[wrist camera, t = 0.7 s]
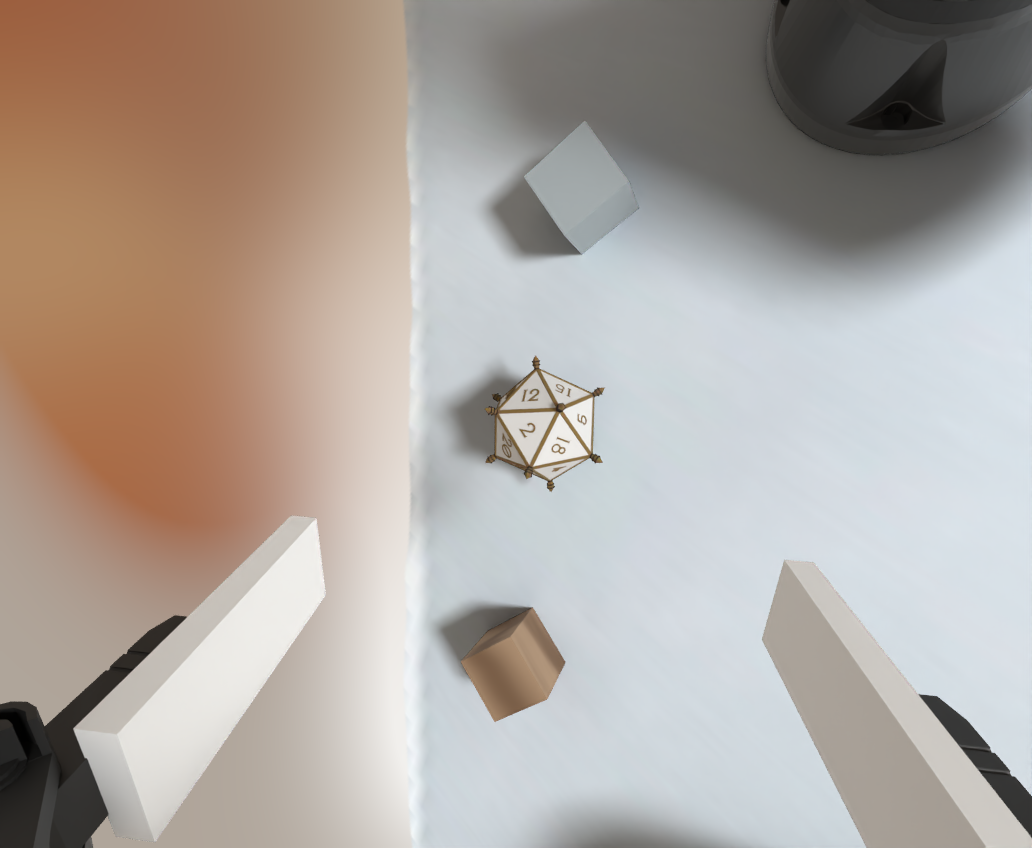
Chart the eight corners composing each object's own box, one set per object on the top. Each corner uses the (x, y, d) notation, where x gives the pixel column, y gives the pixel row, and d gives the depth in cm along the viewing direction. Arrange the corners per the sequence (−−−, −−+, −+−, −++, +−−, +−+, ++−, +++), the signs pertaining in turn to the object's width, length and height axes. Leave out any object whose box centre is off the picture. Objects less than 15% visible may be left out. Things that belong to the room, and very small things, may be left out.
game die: (581, 440, 41) (559, 537, 34) (490, 398, 40) (448, 489, 33) (635, 365, 34) (621, 467, 27) (527, 314, 34) (485, 405, 27)
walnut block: (533, 606, 40) (510, 636, 35) (565, 661, 39) (547, 699, 34) (487, 630, 41) (460, 661, 37) (518, 683, 41) (494, 721, 36)
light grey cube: (600, 155, 35) (584, 120, 30) (639, 208, 34) (628, 181, 30) (546, 203, 37) (523, 176, 32) (582, 254, 36) (564, 235, 31)
